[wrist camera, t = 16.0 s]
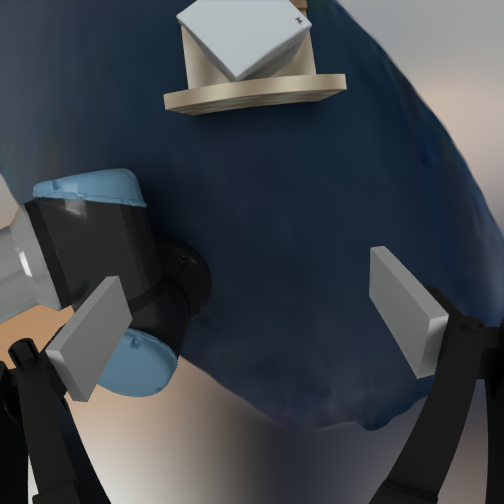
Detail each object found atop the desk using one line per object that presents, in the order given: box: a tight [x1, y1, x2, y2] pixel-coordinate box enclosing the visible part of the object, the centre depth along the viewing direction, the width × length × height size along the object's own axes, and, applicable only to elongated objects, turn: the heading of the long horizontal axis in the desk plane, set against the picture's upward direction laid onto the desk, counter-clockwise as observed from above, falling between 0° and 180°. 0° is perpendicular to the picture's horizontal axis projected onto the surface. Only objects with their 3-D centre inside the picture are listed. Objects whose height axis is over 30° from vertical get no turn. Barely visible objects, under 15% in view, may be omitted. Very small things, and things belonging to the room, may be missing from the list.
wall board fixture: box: [164, 0, 346, 116], centre depth 33 cm, size 18×16×15 cm
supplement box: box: [176, 0, 312, 82], centre depth 31 cm, size 10×9×17 cm
